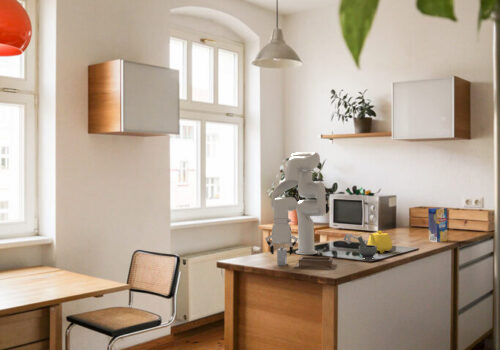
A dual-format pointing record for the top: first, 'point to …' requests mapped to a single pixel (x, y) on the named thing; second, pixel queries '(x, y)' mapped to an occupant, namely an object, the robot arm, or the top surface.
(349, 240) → the bracket
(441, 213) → the blue food box
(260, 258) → the top surface
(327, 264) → the brown wooden base plate
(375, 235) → the teapot
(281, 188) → the robot arm
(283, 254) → the bracket block
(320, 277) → the top surface
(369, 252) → the mortar and pestle
